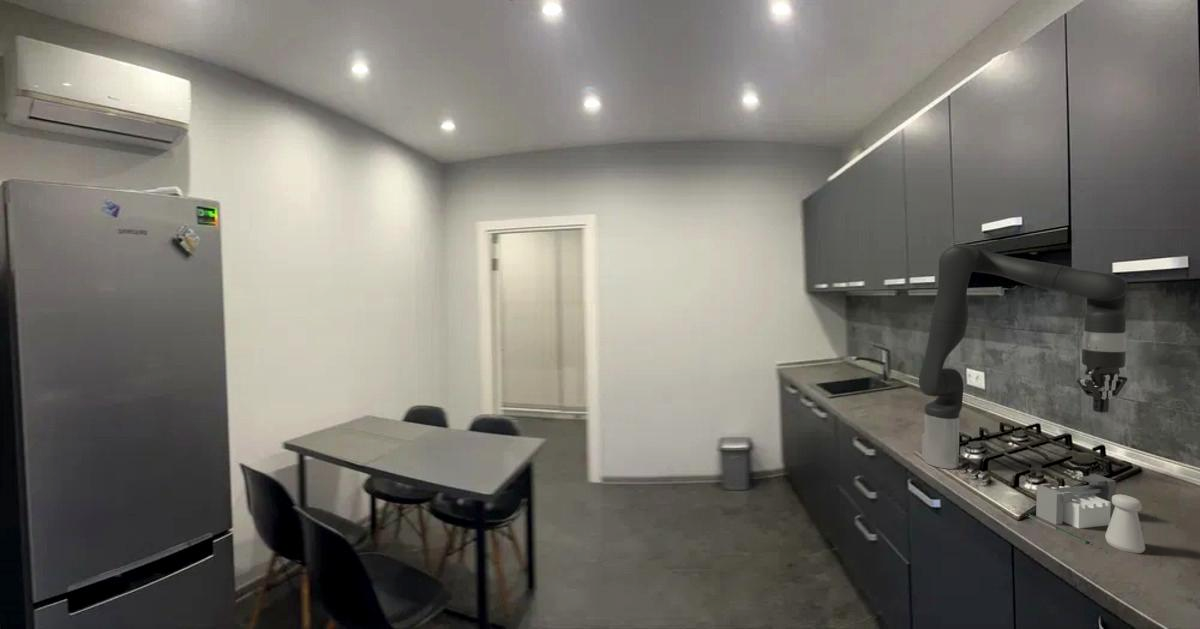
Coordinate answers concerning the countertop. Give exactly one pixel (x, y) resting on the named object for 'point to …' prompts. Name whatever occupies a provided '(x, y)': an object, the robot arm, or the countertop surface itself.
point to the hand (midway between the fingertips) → (1100, 411)
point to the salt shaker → (1125, 525)
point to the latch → (1103, 488)
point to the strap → (1080, 490)
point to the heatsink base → (1070, 509)
